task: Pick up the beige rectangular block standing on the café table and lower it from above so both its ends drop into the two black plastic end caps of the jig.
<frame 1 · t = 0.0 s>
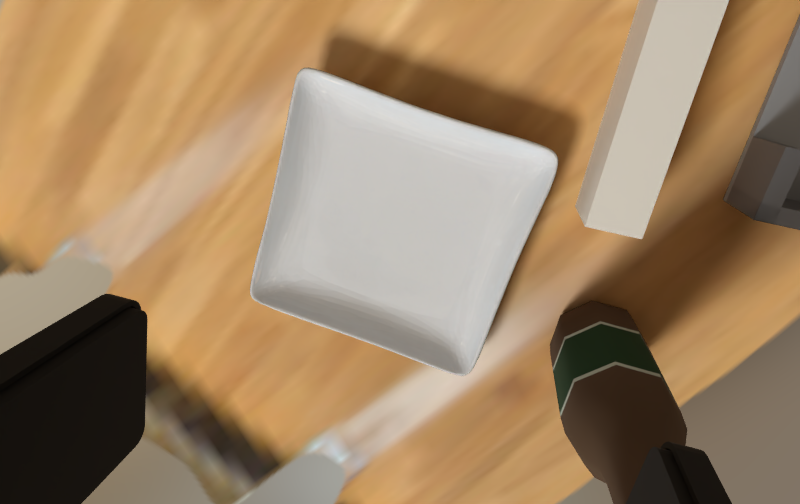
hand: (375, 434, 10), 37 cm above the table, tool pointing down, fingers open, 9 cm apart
beer bottle: (594, 337, 48), on the table
beige rectangular block: (632, 111, 41), on the table
salad plate: (397, 222, 48), on the table
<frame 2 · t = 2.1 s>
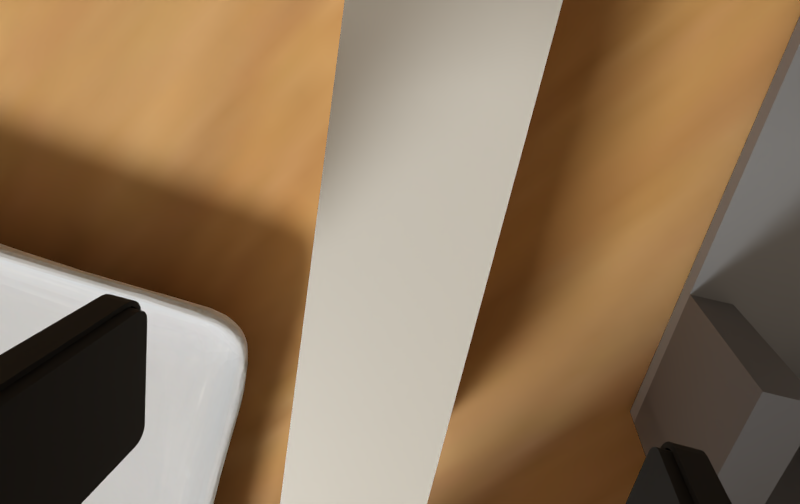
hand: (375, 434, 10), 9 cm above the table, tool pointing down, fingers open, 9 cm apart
beige rectangular block: (422, 224, 18), on the table
salad plate: (25, 407, 25), on the table
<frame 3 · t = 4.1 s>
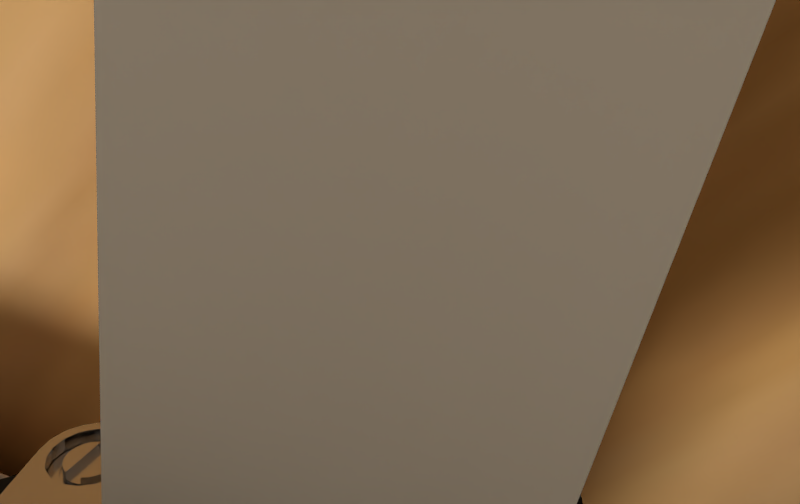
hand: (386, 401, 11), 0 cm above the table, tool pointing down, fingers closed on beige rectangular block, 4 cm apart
beige rectangular block: (390, 389, 11), on the table, touching gripper
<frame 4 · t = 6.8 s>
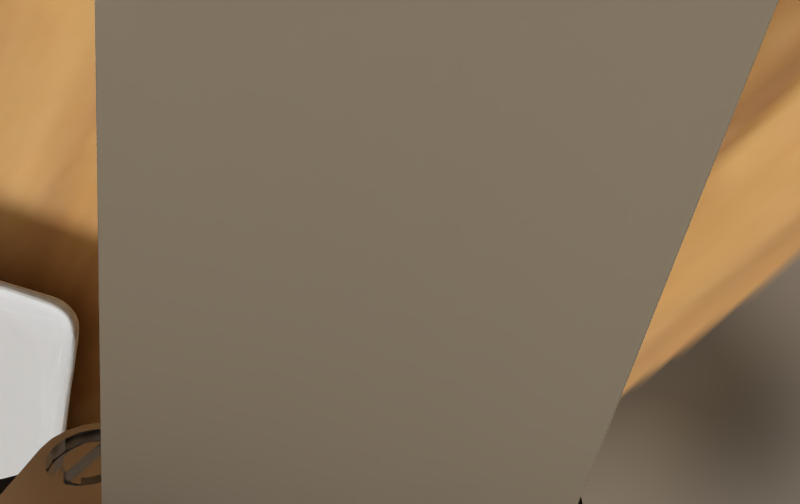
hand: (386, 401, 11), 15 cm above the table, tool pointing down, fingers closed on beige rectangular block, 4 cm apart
beige rectangular block: (390, 393, 11), point 15 cm above the table, touching gripper
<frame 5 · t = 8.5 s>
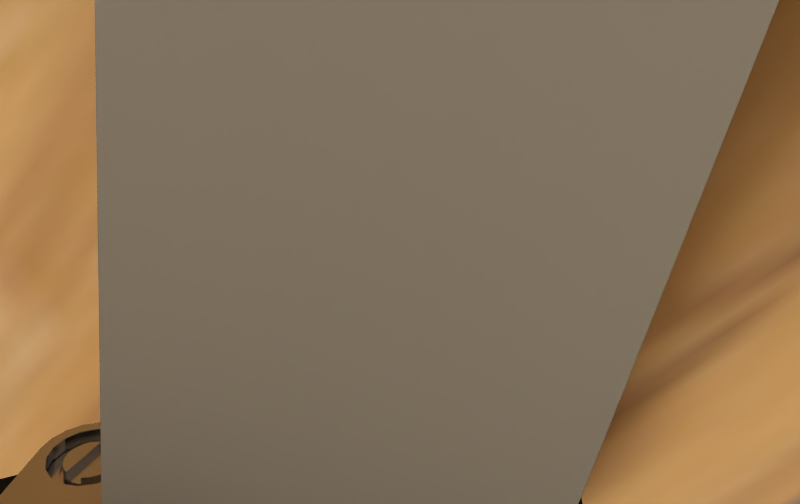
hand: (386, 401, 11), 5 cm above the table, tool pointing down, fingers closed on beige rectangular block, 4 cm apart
beige rectangular block: (390, 393, 11), point 4 cm above the table, touching gripper
when the fingers open (2 cm above the table, at t = 9.8 s): beige rectangular block drops 1 cm, resting on endcap jig.
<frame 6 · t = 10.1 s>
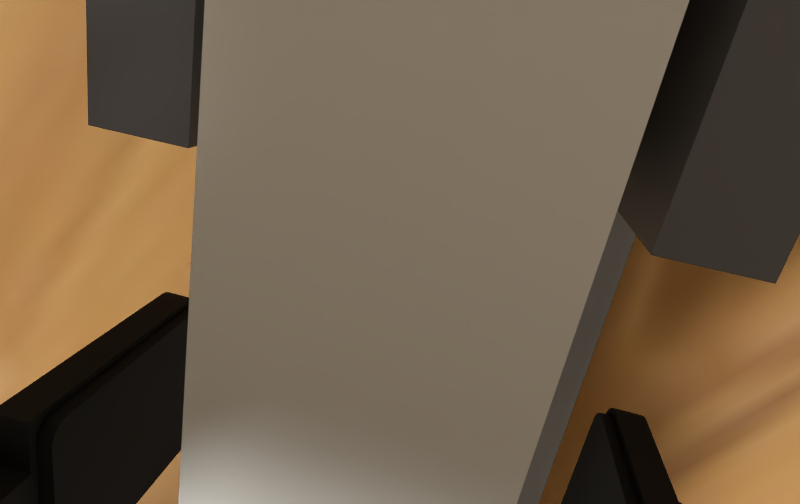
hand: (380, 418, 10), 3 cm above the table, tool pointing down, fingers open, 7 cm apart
beige rectangular block: (400, 354, 13), point 1 cm above the table, touching endcap jig
endcap jig: (407, 341, 13), on the table
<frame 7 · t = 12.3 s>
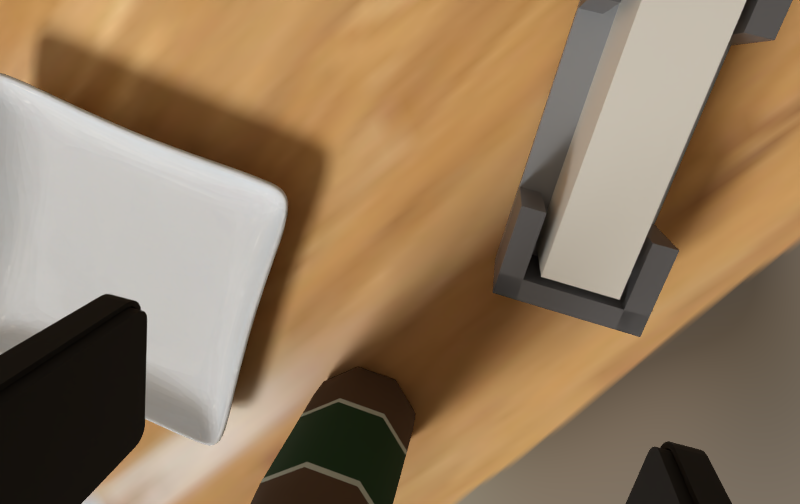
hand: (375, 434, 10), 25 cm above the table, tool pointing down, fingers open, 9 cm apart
beer bottle: (366, 409, 40), on the table
beige rectangular block: (617, 120, 30), point 1 cm above the table, touching endcap jig
endcap jig: (615, 120, 31), on the table
salad plate: (141, 259, 41), on the table
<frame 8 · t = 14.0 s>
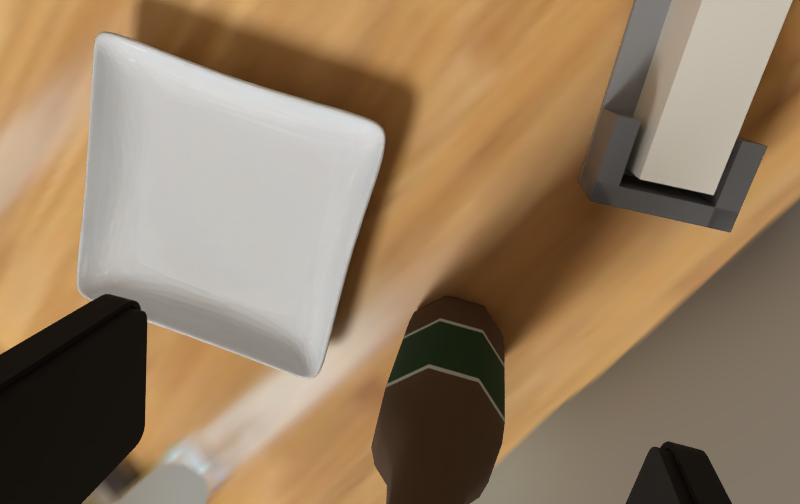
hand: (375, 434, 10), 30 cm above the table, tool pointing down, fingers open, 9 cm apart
beer bottle: (454, 336, 43), on the table
beige rectangular block: (695, 37, 33), point 1 cm above the table, touching endcap jig
endcap jig: (692, 37, 33), on the table
salad plate: (235, 208, 43), on the table
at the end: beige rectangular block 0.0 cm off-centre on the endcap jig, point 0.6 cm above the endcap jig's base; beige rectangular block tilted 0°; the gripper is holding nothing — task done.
